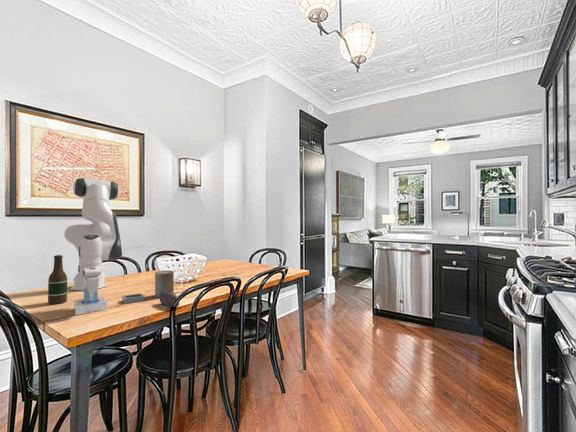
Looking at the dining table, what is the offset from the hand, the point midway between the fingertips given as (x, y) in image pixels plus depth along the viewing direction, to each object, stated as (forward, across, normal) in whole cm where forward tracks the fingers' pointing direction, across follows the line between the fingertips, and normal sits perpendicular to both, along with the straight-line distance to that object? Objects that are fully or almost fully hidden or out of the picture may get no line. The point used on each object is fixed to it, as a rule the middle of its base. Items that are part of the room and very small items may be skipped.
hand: (90, 298), depth 144 cm
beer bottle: (+5, -23, -12) cm, 27 cm away
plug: (+3, 0, 0) cm, 3 cm away
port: (+5, 0, 0) cm, 5 cm away
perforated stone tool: (+6, +16, +32) cm, 36 cm away
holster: (+5, -3, +19) cm, 20 cm away
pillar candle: (+5, -5, +35) cm, 36 cm away
